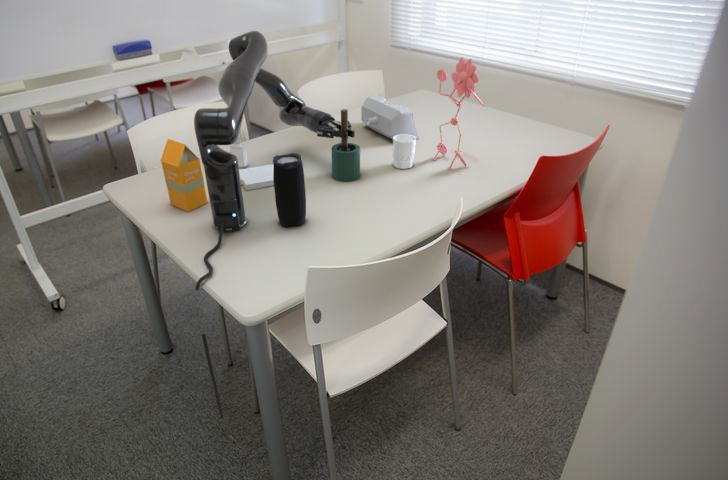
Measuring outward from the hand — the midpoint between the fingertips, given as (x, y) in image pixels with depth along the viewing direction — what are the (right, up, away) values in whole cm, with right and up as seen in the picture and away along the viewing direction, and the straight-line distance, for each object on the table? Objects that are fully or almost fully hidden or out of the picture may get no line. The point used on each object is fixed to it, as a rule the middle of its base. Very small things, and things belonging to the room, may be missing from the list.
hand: (350, 135), depth 164 cm
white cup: (+19, -6, +17) cm, 26 cm away
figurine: (+39, -5, +19) cm, 44 cm away
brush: (-2, -7, +8) cm, 11 cm away
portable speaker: (-17, -29, -16) cm, 37 cm away
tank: (+15, +12, +44) cm, 48 cm away
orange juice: (-51, -23, -4) cm, 56 cm away
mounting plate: (-30, -13, +9) cm, 34 cm away
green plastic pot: (-1, -11, +10) cm, 15 cm away
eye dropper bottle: (-39, -6, +20) cm, 44 cm away
